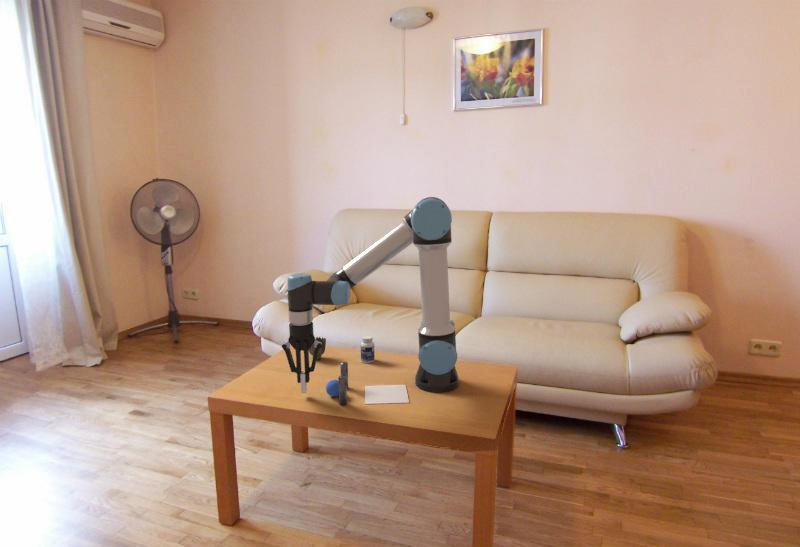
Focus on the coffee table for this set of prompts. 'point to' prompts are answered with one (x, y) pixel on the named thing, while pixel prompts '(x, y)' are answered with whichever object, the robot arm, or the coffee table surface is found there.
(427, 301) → the robot arm
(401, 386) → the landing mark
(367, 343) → the pill bottle
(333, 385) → the ball
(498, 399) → the coffee table surface
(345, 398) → the post
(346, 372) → the post
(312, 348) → the cup
